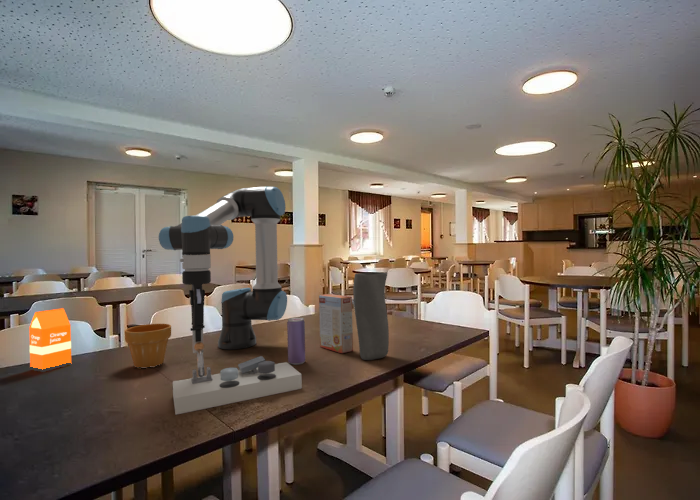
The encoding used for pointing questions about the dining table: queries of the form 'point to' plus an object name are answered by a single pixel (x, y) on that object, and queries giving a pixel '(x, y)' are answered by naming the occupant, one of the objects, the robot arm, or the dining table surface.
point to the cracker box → (336, 322)
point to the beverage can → (296, 341)
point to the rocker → (250, 364)
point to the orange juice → (50, 339)
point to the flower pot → (148, 343)
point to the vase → (371, 314)
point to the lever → (200, 358)
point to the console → (232, 387)
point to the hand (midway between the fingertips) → (198, 352)
